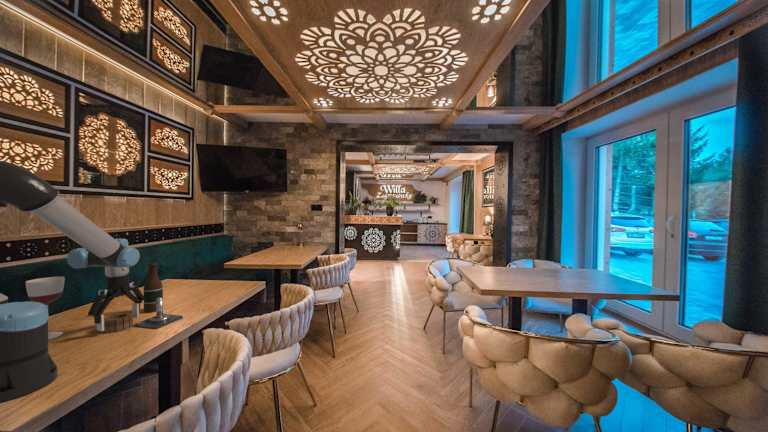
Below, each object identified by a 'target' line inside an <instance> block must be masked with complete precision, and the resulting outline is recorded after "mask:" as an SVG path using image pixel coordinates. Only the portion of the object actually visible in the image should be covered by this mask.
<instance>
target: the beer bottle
mask: <svg viewBox="0 0 768 432" xmlns="http://www.w3.org/2000/svg"><path fill="white" fill-rule="evenodd" d="M147 265H148V274H147V275H148V277H147V279H146V281H145V282H144V285H143V296H144V297H145V300H143V311H144V312H145V313H146V314H148V313H156V300H157V298H160V297H161V298H163V297H164V296H163V295H164V290H163V289H164V288H163V287H164V286H163V283H162V281H161V279H159V275H158V263H157V262H149V263H148V264H147Z"/></svg>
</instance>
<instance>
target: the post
mask: <svg viewBox="0 0 768 432" xmlns="http://www.w3.org/2000/svg"><path fill="white" fill-rule="evenodd" d="M155 314H156V315H155V316H152V317H150V318H147V319H144V320H141V321H138V322H135V323H134V327H138V328H147V329H156V330H158V329H160V328H163V327H166V326H169V325H170V324H172V323H174V322H177V321H179V320H180V321H181V320H182V319H184V316H183V315H177V314H166V313H164V299H163V298H161V297H160V298H157V300H156V312H155Z"/></svg>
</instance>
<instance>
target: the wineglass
mask: <svg viewBox="0 0 768 432" xmlns="http://www.w3.org/2000/svg"><path fill="white" fill-rule="evenodd" d="M65 280H66V279H65V276H50V277H41V278H35V279H30V280H25V288H26V289H25V290H26V294H27V297H28V299H29V301H30V302H39V303H42V304H44V305H45V306H46V307H47V311H48V312H49V304H51V303H52V302H56V301H57V300H58V299H59V298H61V296H62V295H63V293H64V288H65ZM63 334H64V332H62V331H55V332H54V331H53V332H49V329H48V340H51V339H54V338H57V337H59V336H62V335H63Z"/></svg>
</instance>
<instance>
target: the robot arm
mask: <svg viewBox="0 0 768 432" xmlns="http://www.w3.org/2000/svg"><path fill="white" fill-rule="evenodd" d="M8 205H10V206H13V207H14V208H15V209H16V208H17V210H19V211H21V212H23V213H32V214H33V215H34V216H36V217H37V218H38V219H41V220H42V221H44V222H45V223H46V224H48V225H50V226H51V227H52V228H54V229H55V230H57V231H58V232H60V233H61V234H64V235H65V236H66V237H68V238H69V239H71V240H72V241H74V242H75V243H76V244H79V245H80V246H81V247H80V248H74V249H71V250H70V251H69V252H68V254H67V259H66V261H67V264H68V265H69V266H70V267H71V268H73V269H85V268H90V267H94V268H95V267H98V268H99V267H100V268H104V275H105V276H106V277H104V278H105V279H104V280H105V286H106V289H98V290H97V291H96V296H95V299H94V301H93V302H92V305H91V307H90V309H89V310H88V312H87V316H89V317H93V318H94V319H93V320H94V321H93V322H94V324H96V331H98V332H104V318H105V315H104V314H103V312H104V311H106V308H108V306H109V305H110V303H112V301H113V300H114V299H115V298H116V299H117V298H119V297H122V296H125V297H126V298H128V299H130V301H132V304H131V309H132V310H131V313H132V317H133V319H138V318H140V310H141V303H143V301H144V300H145V297H144V293H142V292H141V289H140V288H139V287H138V282H134V281H131V280H130V274H129V273H130V267H133V266H135V265H136V264H138V262H139V260H140V256H141V255H140V251H139V250H138V249H137V248H135V247H130V246H129V241H128V239H126V238H114V237H113V236H111V235H110V234H109V233H108V232H106V231H105V230H104V229H102V228H101V227H100V226H98V225H97V224H95V223H94V222H93V221H92V220H91V219H89V218H88V217H86V216H85V215H84V214H83V213H81V212H80V211H78V209H76V208H75V207H74V206H72V205H71V204H70V203H68V202H67V201H66V200H64V199H63V198H62V197H60V191H59V190H58V189H56V187H54V186H52V184H50V183H49V182H48V181H46V180H45V179H43V178H41V177H40V176H39V175H37V174H35V173H34V172H32V171H31V170H29V169H27V168H25V167H23V166H20V165H19V164H15V163H13V162H10V161H5V160H0V213H2V212H3V211H5V210H7V209H8ZM130 281H131V282H130ZM129 289H131V291H130V290H129ZM132 292H133V293H132ZM49 318H50V316H49V310H48V311H47V307H46V306H45V305H44V304H42V303H39V302H32V301H31V300H29V301H14V302H12V301H11V302H9V297H8V296H6V295H4V293H1V292H0V403H1V402H2V403H3V402H7V401H10V400H14V399H17V398H20V397H23V396H26V395H28V394H29V395H30V394H31V393H34V392H36V391H38V390H40V389H42V388H44V387H47V386H48V385H49V384H51V383H53V382H54V381H55V380H56V379H58V377H59V373H58V372H59V370H58V369H59V368H58V366H57V364H56V363H55V361H54V359H53V358H52V356H51V354H50V353H49V339H48V330H49V320H50V319H49Z"/></svg>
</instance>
